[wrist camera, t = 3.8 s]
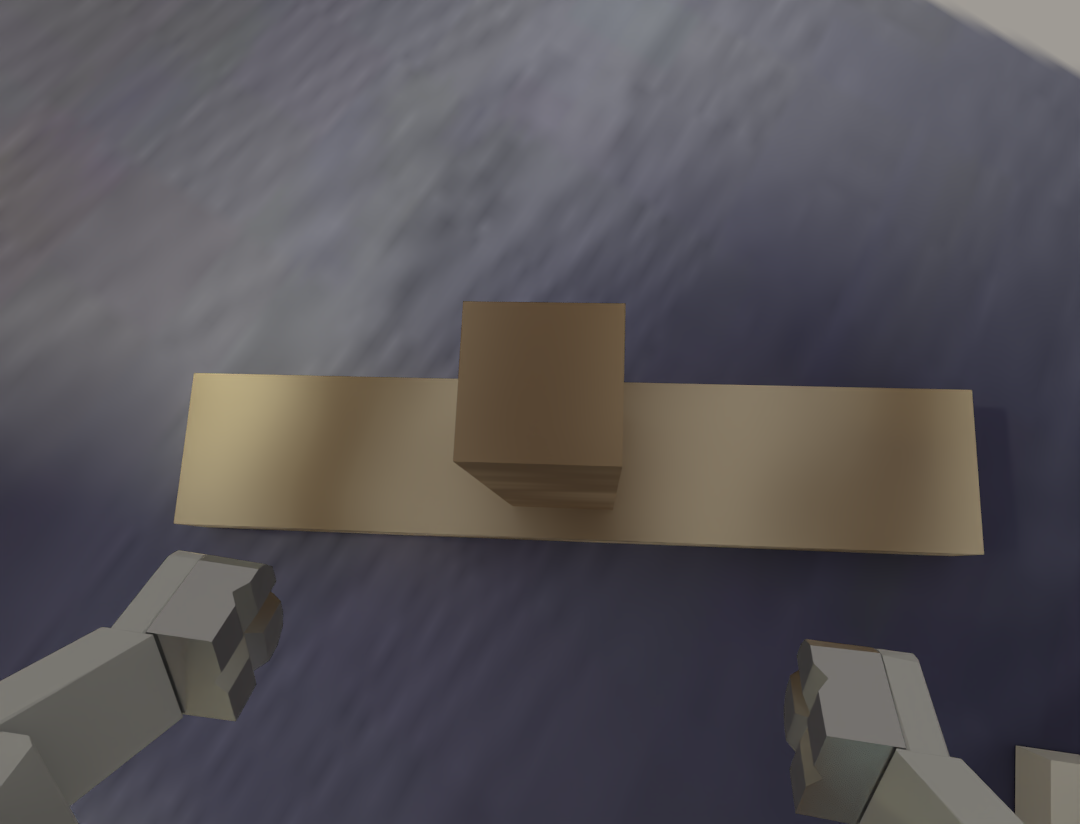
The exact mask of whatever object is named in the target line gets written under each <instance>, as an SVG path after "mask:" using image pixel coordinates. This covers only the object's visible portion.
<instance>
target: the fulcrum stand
mask: <svg viewBox="0 0 1080 824" xmlns="http://www.w3.org/2000/svg"><path fill="white" fill-rule="evenodd" d="M1015 814H1016V816H1017V817H1018V818H1019V819H1020V820H1021V821H1022V822H1023V823H1024V824H1080V755H1078V754H1072V753H1065V752H1058V751H1051V750H1044V749H1037V748H1030V747H1023V746H1017V745H1016V758H1015Z"/></svg>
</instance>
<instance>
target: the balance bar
mask: <svg viewBox="0 0 1080 824" xmlns="http://www.w3.org/2000/svg"><path fill="white" fill-rule="evenodd" d="M624 353H625V304H624V303H548V302H472V301H463V312H462V328H461V343H460V359H459V375H458V379H443V378H397V377H350V376H304V375H258V374H211V373H194V377H193V385H192V392H191V399H190V407H189V414H188V422H187V429H186V436H185V444H184V451H183V458H182V466H181V473H180V481H179V488H178V495H177V503H176V510H175V517H174V524H182V525H191V526H200V527H212V528H238V529H264V530H289V531H315V532H341V533H367V534H393V535H418V536H444V537H470V538H496V539H522V540H547V541H573V542H599V543H625V544H651V545H676V546H702V547H728V548H754V549H780V550H806V551H831V552H857V553H883V554H909V555H935V556H967V555H984V546H983V533H982V519H981V506H980V492H979V479H978V465H977V452H976V438H975V425H974V411H973V397H972V390H952V389H906V388H859V387H813V386H767V385H721V384H674V383H628V382H624Z"/></svg>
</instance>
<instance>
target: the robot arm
mask: <svg viewBox="0 0 1080 824" xmlns="http://www.w3.org/2000/svg"><path fill="white" fill-rule="evenodd" d="M275 583H276V578H275V574H274V570H273V567H272V566H270V565H267V564H262V563H256V562H250V561H244V560H238V559H232V558H226V557H220V556H214V555H206V554H200V553H194V552H187V551H181V550H178V551H176V552H174V553H172V554H171V555H169V556H168V557H167V558H166V559H165V560H164V562H163V563H162V564H161V566H160V567H159V568H158V569H157V571H156V572H155V573H154V574H153V576H152V577H151V578H150V579H149V581H148V582H147V583H146V584H145V586H144V587H143V588H142V589H141V591H140V592H139V593H138V594H137V596H136V597H135V598H134V599H133V601H132V602H131V603H130V604H129V606H128V607H127V608H126V609H125V611H124V612H123V613H122V614H121V616H120V617H119V618H118V619H117V621H116V622H115V623H114V625H113V626H112V627H111V628H107V627H101V628H99V629H97V630H95V631H93V632H91V633H89V634H87V635H86V636H84V637H82V638H80V639H78V640H76V641H74V642H73V643H71V644H69V645H67V646H65V647H63V648H61V649H59V650H58V651H56V652H54V653H52V654H50V655H48V656H46V657H44V658H43V659H41V660H39V661H37V662H35V663H33V664H31V665H29V666H28V667H26V668H24V669H22V670H20V671H18V672H16V673H14V674H13V675H11V676H9V677H7V678H5V679H3V680H1V681H0V824H79V823H78V821H77V820H76V818H75V816H74V814H73V812H72V811H71V809H70V806H71V805H72V804H73V803H75V802H76V801H77V800H78V799H80V798H81V797H82V796H84V795H85V794H86V793H87V792H89V791H90V790H91V789H93V788H94V787H95V786H96V785H98V784H99V783H100V782H101V781H103V780H104V779H105V778H107V777H108V776H109V775H110V774H112V773H113V772H114V771H115V770H117V769H118V768H119V767H121V766H122V765H123V764H124V763H126V762H127V761H128V760H129V759H131V758H132V757H133V756H135V755H136V754H137V753H138V752H140V751H141V750H142V749H143V748H145V747H146V746H147V745H149V744H150V743H151V742H152V741H154V740H155V739H156V738H157V737H159V736H160V735H161V734H163V733H164V732H165V731H166V730H168V729H169V728H170V727H172V726H173V725H174V724H175V723H177V722H178V721H179V720H180V719H182V718H183V715H182V714H185V715H192V716H200V717H207V718H214V719H222V720H229V721H237V719H238V717H239V715H240V713H241V712H242V710H243V708H244V706H245V704H246V702H247V701H248V699H249V697H250V695H251V693H252V692H253V690H254V688H255V686H256V680H255V676H254V670H256V669H257V668H259V667H260V666H262V665H263V664H265V663H266V662H268V661H269V660H270V659H271V657H272V655H273V653H274V651H275V649H276V647H277V645H278V642H279V638H280V634H281V631H282V627H283V609H282V604H281V601H280V600H279V599H278V598H277V597H276V596H275V595H274V594H273V593H272V592H271V590H272V588H273V586H274V585H275ZM797 661H798V668H799V670H798V671H797V672H795V673H793V674H792V675H790V677H789V681H788V684H787V688H786V692H785V701H784V729H785V737H786V741H787V742H788V744H789V745H790V746H791V747H792V749H793V750H794V751H795V755H794V758H793V760H792V763H791V766H790V777H791V784H792V792H793V799H794V806H795V813H796V814H801V815H807V816H812V817H817V818H822V819H828V820H833V821H838V822H843V823H848V824H1024V823H1023V822H1022V821H1021V820H1020V819H1019V818H1018V817H1017V816H1016V814H1015V813H1014V812H1013V811H1012V810H1011V809H1010V808H1009V807H1008V806H1007V805H1006V804H1005V803H1004V802H1003V801H1002V800H1001V799H1000V798H999V797H998V796H997V795H996V794H995V793H994V792H993V791H992V790H991V789H990V788H989V787H988V786H987V785H986V784H985V783H984V782H983V781H982V780H981V779H980V778H979V777H978V775H977V774H976V773H975V772H974V771H973V770H972V769H971V768H970V767H969V766H968V765H967V764H966V763H965V762H964V761H963V760H962V759H960V758H954V757H950V755H949V752H948V749H947V746H946V743H945V740H944V737H943V734H942V731H941V728H940V725H939V722H938V718H937V715H936V712H935V709H934V706H933V703H932V700H931V697H930V694H929V691H928V688H927V685H926V682H925V678H924V675H923V672H922V669H921V666H920V663H919V660H918V659H917V658H916V656H915V655H914V654H913V653H906V652H898V651H891V650H884V649H874V648H872V647H864V646H856V645H848V644H841V643H833V642H825V641H817V640H810V639H805V640H804V641H803V642H802V643H801V645H800V648H799V651H798V653H797Z"/></svg>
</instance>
